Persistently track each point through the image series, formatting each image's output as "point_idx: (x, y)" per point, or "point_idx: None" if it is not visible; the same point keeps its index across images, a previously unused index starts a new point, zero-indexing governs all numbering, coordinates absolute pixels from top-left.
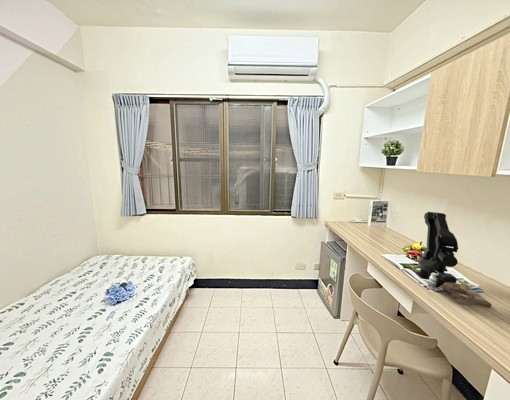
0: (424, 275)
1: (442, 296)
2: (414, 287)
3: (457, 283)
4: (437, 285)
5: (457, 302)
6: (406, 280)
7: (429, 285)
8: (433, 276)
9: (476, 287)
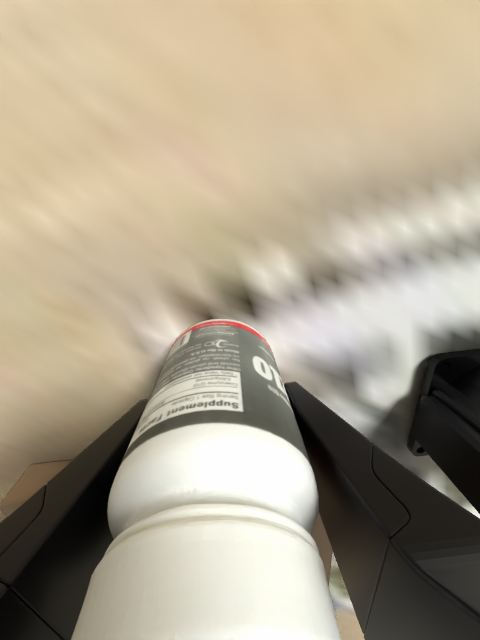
0: (471, 389)
1: (91, 393)
2: (146, 100)
3: (329, 571)
4: (111, 437)
5: (42, 466)
6: (356, 43)
7: (196, 341)
8: (127, 570)
9: (334, 600)
